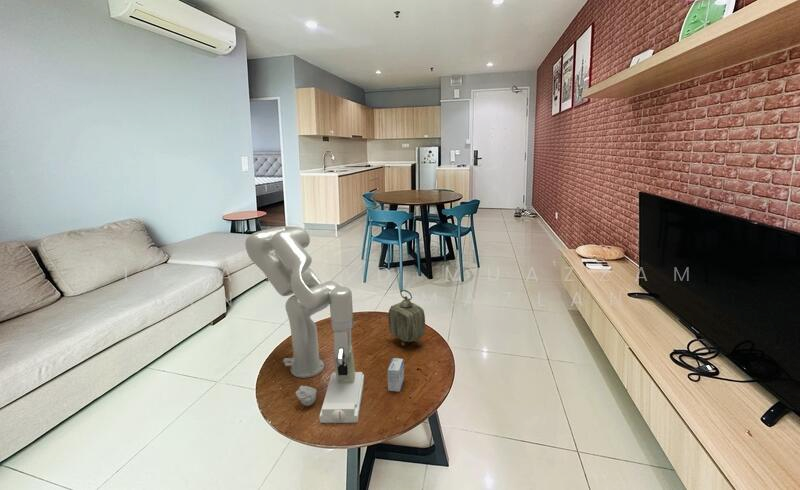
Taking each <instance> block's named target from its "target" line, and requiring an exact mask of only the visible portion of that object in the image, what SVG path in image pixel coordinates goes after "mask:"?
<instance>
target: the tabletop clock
mask: <svg viewBox="0 0 800 490" xmlns="http://www.w3.org/2000/svg"><path fill="white" fill-rule="evenodd" d="M402 292H406V293H408V294H409V296H410V298H409V297H408V296H407V295H406V296H404V295H403V294H402ZM399 293H400V296H401V298H403V300H401V302H399V303H398V302H397V303H396V304H393V305H391V306H390V308H389V309H388V329H389V330H388V331H389V333H390V334H391V335H392V336H394V337H395V338H397V339H399V340H401V343H400V344H401V346H405V345H406V343H407V342H409V343H412V342H414V341H416V343H417V346H418V347H420V346H421V345H422V343H421V342H419V340H418V339H419V338H422V337H424V335H425V332H426V315H425V311H424V309H423V308H422V306H420V305H418V304H416V303H414V302H412V301H411V300H412V299H413V296H412V293H411V292H410V291H409V290H407V289H401V290H400V292H399ZM405 342H406V343H405Z"/></svg>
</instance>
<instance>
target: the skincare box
mask: <svg viewBox="0 0 800 490" xmlns="http://www.w3.org/2000/svg"><path fill="white" fill-rule="evenodd" d="M353 349H354V347H353V345H351V347H350V351H349V356H348V357H347V359H346V364H347V369H348V375H338V357H337V358H335V357H333V359H334V368H335V372H336V379H337V383H351V382H354V379H355V372H356V371H355V359H354V358H355V357H354V350H353ZM343 356H345V354H343ZM344 359H345V358H343V361H344Z"/></svg>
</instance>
